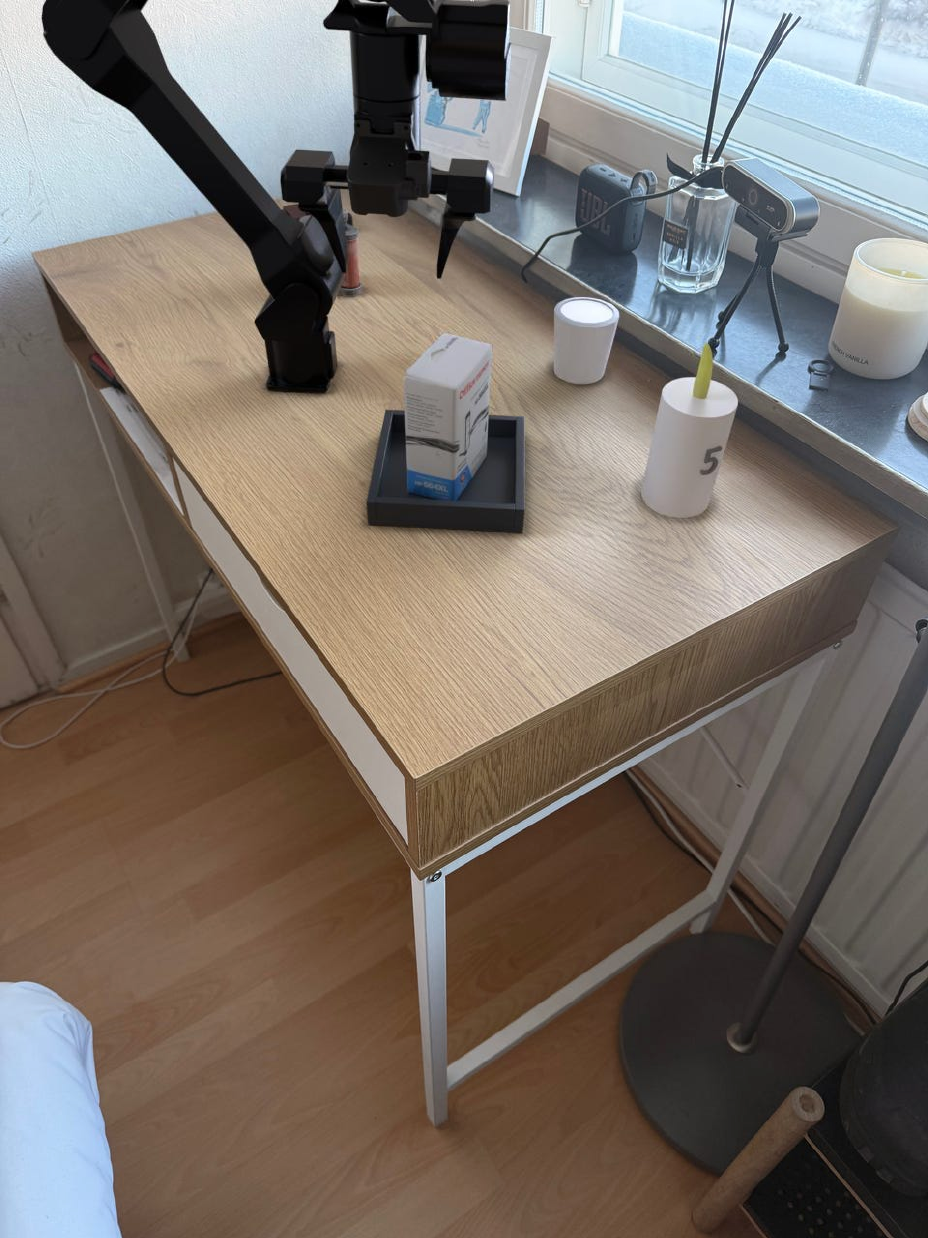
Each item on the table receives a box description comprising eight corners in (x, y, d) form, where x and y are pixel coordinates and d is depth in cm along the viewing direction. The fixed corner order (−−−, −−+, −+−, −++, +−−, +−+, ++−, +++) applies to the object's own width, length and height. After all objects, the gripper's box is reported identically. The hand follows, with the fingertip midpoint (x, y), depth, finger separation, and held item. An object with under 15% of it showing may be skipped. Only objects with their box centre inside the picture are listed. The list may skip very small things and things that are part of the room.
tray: (367, 525, 76) (366, 501, 74) (386, 431, 87) (385, 409, 85) (522, 533, 76) (524, 509, 74) (522, 438, 86) (524, 416, 84)
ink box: (454, 506, 77) (456, 389, 69) (404, 492, 79) (400, 375, 70) (489, 455, 83) (495, 341, 75) (442, 443, 84) (443, 329, 76)
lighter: (367, 289, 108) (362, 206, 101) (350, 299, 106) (344, 214, 99) (316, 272, 111) (309, 190, 104) (299, 282, 109) (290, 199, 102)
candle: (667, 526, 77) (705, 375, 67) (627, 485, 81) (657, 336, 71) (724, 508, 79) (770, 359, 68) (683, 469, 83) (720, 322, 73)
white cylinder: (607, 390, 93) (617, 329, 88) (543, 382, 94) (550, 321, 89) (612, 359, 98) (622, 299, 93) (551, 352, 99) (558, 292, 94)
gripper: (254, 115, 68) (278, 306, 79) (492, 128, 67) (483, 319, 78) (285, 76, 76) (303, 255, 87) (498, 88, 75) (489, 266, 86)
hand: (392, 274), depth 84 cm, fingers open, 9 cm apart
